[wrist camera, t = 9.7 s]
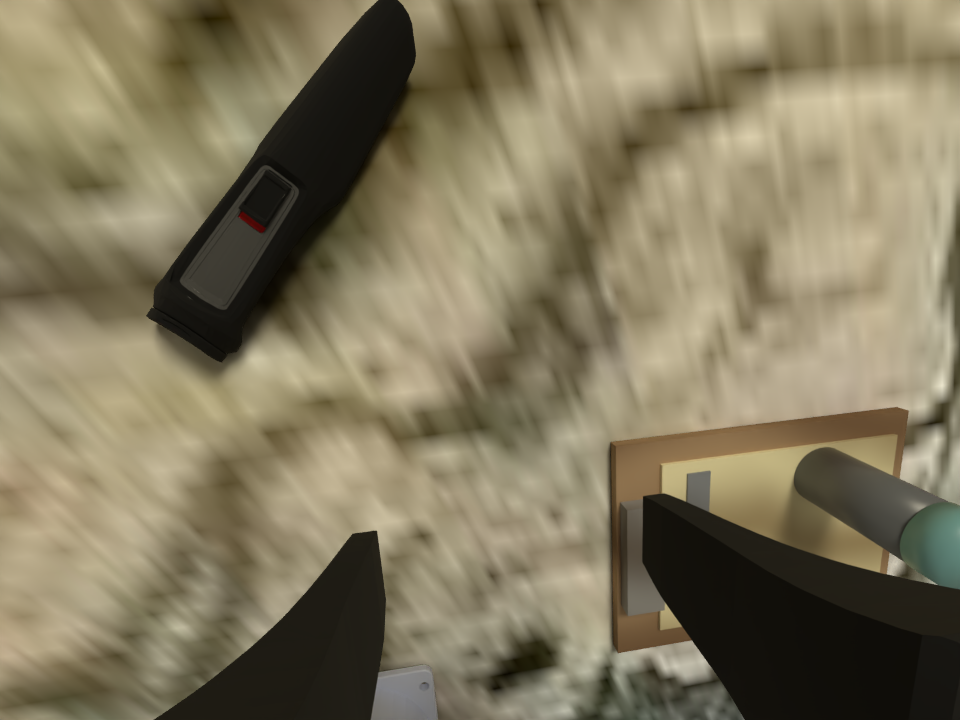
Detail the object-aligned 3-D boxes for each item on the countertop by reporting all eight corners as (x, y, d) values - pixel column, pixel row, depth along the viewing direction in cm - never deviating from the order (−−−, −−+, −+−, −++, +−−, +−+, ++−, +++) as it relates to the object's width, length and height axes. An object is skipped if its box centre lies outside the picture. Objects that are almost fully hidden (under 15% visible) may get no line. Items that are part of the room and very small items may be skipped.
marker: (846, 494, 24) (1010, 587, 17) (792, 505, 24) (936, 604, 17) (849, 441, 23) (1021, 516, 17) (793, 451, 23) (945, 532, 16)
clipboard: (872, 599, 27) (895, 617, 26) (613, 644, 25) (624, 665, 24) (897, 407, 24) (925, 415, 23) (610, 442, 23) (622, 453, 21)
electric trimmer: (440, 77, 19) (445, 40, 16) (232, 365, 20) (198, 383, 17) (366, 9, 18) (356, -43, 15) (153, 314, 19) (103, 323, 16)
